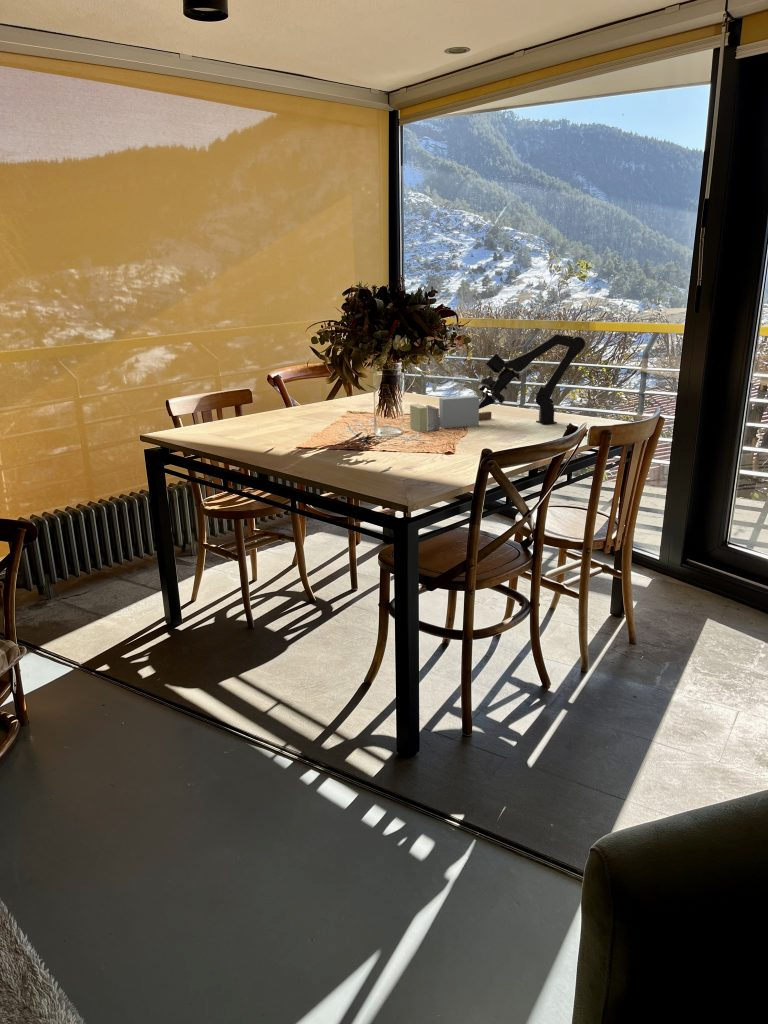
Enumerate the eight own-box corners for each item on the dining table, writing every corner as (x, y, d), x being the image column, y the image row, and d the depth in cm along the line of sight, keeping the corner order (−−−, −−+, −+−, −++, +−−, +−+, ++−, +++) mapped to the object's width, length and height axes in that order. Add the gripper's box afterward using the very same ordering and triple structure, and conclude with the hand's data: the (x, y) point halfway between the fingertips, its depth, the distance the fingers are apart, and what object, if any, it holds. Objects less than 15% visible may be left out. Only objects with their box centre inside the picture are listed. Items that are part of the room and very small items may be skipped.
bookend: (438, 430, 321) (438, 408, 318) (424, 431, 319) (424, 410, 316) (429, 426, 329) (429, 405, 326) (415, 427, 327) (415, 406, 324)
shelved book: (428, 431, 319) (427, 407, 316) (419, 432, 318) (419, 407, 315) (418, 427, 327) (417, 403, 324) (410, 428, 326) (409, 404, 323)
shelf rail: (491, 418, 340) (491, 412, 339) (430, 426, 329) (430, 419, 328) (489, 417, 342) (489, 411, 341) (428, 425, 331) (428, 418, 330)
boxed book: (474, 423, 333) (475, 395, 329) (478, 425, 329) (479, 397, 325) (439, 425, 329) (439, 397, 326) (442, 427, 325) (442, 399, 321)
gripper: (482, 365, 333) (457, 392, 334) (498, 371, 316) (472, 399, 317) (499, 382, 337) (474, 409, 339) (515, 389, 320) (490, 417, 321)
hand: (477, 408), depth 329 cm, fingers closed, pressing on boxed book
